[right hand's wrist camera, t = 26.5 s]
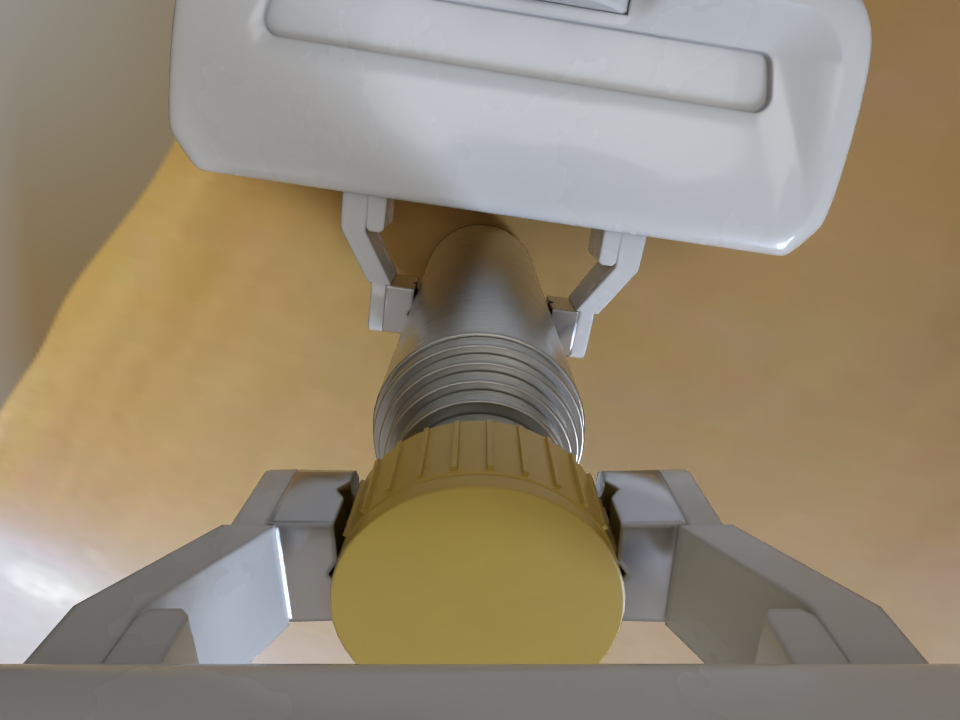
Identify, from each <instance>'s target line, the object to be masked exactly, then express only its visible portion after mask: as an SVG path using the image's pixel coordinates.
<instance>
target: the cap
mask: <svg viewBox="0 0 960 720" xmlns="http://www.w3.org/2000/svg"><path fill="white" fill-rule="evenodd" d="M343 536H345V539H344V542H343V545H342V548H341V551H340V554H339V557H338V560H337V563H336V566H335V569H334V572H333V575H332V580H331V587H330V609H331V615H332V620H333V624H334V627H335V629H336V632H337V635H338V637H339V639H340V641H341V643H342V645H343V646H344V648H345V650H346V651H347V652H348V654H349V655H350V657H351V658H352V659H353V661H354V662H355V663H356V664H599V663H600V662H601V661H602V659H603V658H604V657H605V656H606V655H607V653H608V651H609V650H610V648H611V646H612V645H613V643H614V642H615V639H616V637H617V634H618V632H619V630H620V627H621V623H622V619H623V615H624V607H625V590H624V582H623V578H622V574H621V571H620V567H619V564H618V561H617V558H616V555H617V549H616V546H615V543H614V540H613V537H612V534H611V531H610V528H609V518H608V515H607V512H606V509H605V508H603V506H602V503H601V500H600V497H598V494H597V491H596V488H595V484H594V481H593V478H592V476H591V474H590V473H589V474H586V473H585V471H584V470H583V468H582V467H581V466H580V465H579V464H578V462H577V461H576V458H575V455H574V454H573V453H570V454H568V453H567V452H566V451H565V450H564V449H563V448H561V447H560V446H558V445H557V444H555V443H554V442H552V439H551V438H550V437H548V436H547V437H544V436H542V435H539V434H537V433H535V432H533V431H531V430H528V429H525V428H523V426H522V425H518V426H516V425H511V424H506V423H501V422H493V421H492V420H489V419H487V420H486V421H462V422H460V420H457V421H454V423H449V424H444V425H440V426H437V427H433V428H430V429H429V427H427V428H425V429H424V431H423V432H420V433H418V434H415V435H414V436H412V437H410V438H408V439H407V440H405V441H403V442H402V441H401V440H400V441H399V442H397V445H396V447H394V448H393V449H392V450H390V451H389V452H388V453H387V454H386V455H385V456H384V457H383V458H382V459H379V458H378V459H377V460H376V461H375V464H374V467H373V469H372V471H371V472H370V473H369V475H368V476H367V478H366V480H361V482H360V484H359V487H358V490H357V493H356V496H355V499H354V502H353V505H352V508H351V511H350V514H349V517H348V518H347V521H346V526H345V529H344V532H343Z"/></svg>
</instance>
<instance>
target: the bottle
mask: <svg viewBox="0 0 960 720" xmlns="http://www.w3.org/2000/svg"><path fill="white" fill-rule="evenodd" d="M487 419H489V420H492V421H493V422H501V423H506V424H511V425H516V426H518V425H522V426H523V428H525V429H528V430H531V431H533V432H535V433H537V434H539V435H542V436H544V437H547V436H548V437H550V438H551V439H552V442H554V443H555V444H557V445H558V446H560V447H561V448H563V449H564V450H565V451H566V452H567V453H568V454H570V453H573V454H574V455H575V458H576V461H577V462H578V464H579V463H580V460H581V456H582V453H583V446H584V432H585V416H584V411H583V405H582V402H581V399H580V396H579V393H578V390H577V387H576V384H575V382H574V379H573V376H572V373H571V370H570V368H569V365H568V362H567V359H566V356H565V354H564V351H563V348H562V345H561V342H560V339H559V337H558V334H557V331H556V328H555V325H554V323H553V320H552V317H551V314H550V311H549V309H548V306H547V303H546V300H545V297H544V294H543V292H542V289H541V286H540V283H539V280H538V278H537V275H536V272H535V269H534V266H533V264H532V261H531V258H530V256H529V254H528V252H527V250H526V249H525V247H524V246H523V245H522V244H521V243H520V241H519V240H518V239H516V238H515V237H514V236H513V235H511V234H510V233H508V232H506V231H504V230H502V229H500V228H497V227H493V226H488V225H472V226H467V227H464V228H461V229H458V230H456V231H454V232H452V233H451V234H449V235H448V236H446V237H445V238H444V239H443V240H442V241H441V242H440V243H439V244H438V245H437V247H436V248H435V249H434V251H433V253H432V255H431V257H430V259H429V262H428V264H427V267H426V270H425V272H424V275H423V278H422V280H421V283H420V286H419V288H418V291H417V294H416V296H415V299H414V302H413V304H412V307H411V309H410V312H409V315H408V317H407V320H406V323H405V325H404V328H403V331H402V333H401V336H400V339H399V341H398V344H397V347H396V349H395V352H394V355H393V357H392V360H391V363H390V365H389V368H388V371H387V373H386V376H385V379H384V381H383V384H382V387H381V389H380V392H379V395H378V397H377V401H376V405H375V408H374V416H373V436H374V448H375V454H376V458H377V459H378V458H379V459H382V458H383V457H384V456H385V455H386V454H387V453H388V452H389V451H390V450H392V449H393V448H394V447H396V445H397V442H399V441H400V440H401V441H402V442H403V441H405V440H407V439H408V438H410V437H412V436H414V435H415V434H418V433H420V432H423V431H424V429H425V428H427V427H429V429H430V428H433V427H437V426H440V425H444V424H449V423H454V421H457V420H460V422H462V421H486V420H487Z"/></svg>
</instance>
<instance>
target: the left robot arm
mask: <svg viewBox="0 0 960 720" xmlns="http://www.w3.org/2000/svg"><path fill="white" fill-rule="evenodd" d="M871 44H872V37H871V25H870V20H869V16H868V12H867V10H866V7H865V5H864V3H863V1H862V0H175V8H174V16H173V27H172V39H171V51H170V71H169V123H170V129H171V132H172V134H173V136H174V138H175V139H176V141H177V142H178V143H179V145H180V146H181V148H182V149H183V151H184V152H185V154H186V155H187V156H188V158H189V159H190V160H191V162H192V163H193V164H194V165H195V166H196V167H197V168H198V169H200V170H203V171H208V172H214V173H221V174H228V175H235V176H241V177H248V178H255V179H262V180H268V181H275V182H282V183H289V184H295V185H302V186H309V187H316V188H323V189H329V190H336V191H343V198H342V216H341V229H342V231H343V233H344V235H345V237H346V239H347V241H348V243H349V245H350V247H351V249H352V251H353V253H354V255H355V257H356V259H357V261H358V263H359V265H360V267H361V269H362V271H363V274H364V276H365V278H366V280H367V282H371V294H370V307H369V320H368V326H369V329H370V330H375V331H380V332H383V331H385V332H393V333H402V331H403V328H404V325H405V323H406V320H407V317H408V315H409V312H410V309H411V307H412V304H413V302H414V299H415V296H416V294H417V291H418V285H419V278H418V277H412V276H406V275H400V274H397V271H396V269H395V266H394V264H393V262H392V259H391V257H390V255H389V252H388V250H387V248H386V245H385V243H384V241H383V238H382V236H381V234H380V232H382V231H383V230H384V229H385V228H386V227H387V226H388V225H389V224H390V223H391V222H392V221H393V213H394V203H395V199H397V200H404V201H411V202H417V203H424V204H431V205H438V206H444V207H451V208H458V209H465V210H472V211H478V212H485V213H492V214H499V215H505V216H512V217H519V218H526V219H533V220H539V221H546V222H553V223H560V224H566V225H573V226H580V227H587V228H592V230H591V235H590V240H589V245H588V251H589V252H590V254H591V255H592V256H593V257H594V258H595V259H596V260H597V261H598V262H597V263H596V265H595V266H594V267H593V268H592V269H591V271H590V272H589V273H588V274H587V275H586V277H585V278H584V279H583V280H582V281H581V283H580V284H579V285H578V286H577V287H576V289H575V290H574V291H573V292H572V293H571V295H570V296H569V298H562V297H554V296H547V298H546V303H547V306H548V309H549V311H550V314H551V317H552V320H553V323H554V325H555V328H556V331H557V334H558V337H559V339H560V342H561V345H562V348H563V351H564V354H565V356H566V357H574V358H581V359H582V358H583V357H584V355H585V352H586V349H587V344H588V340H589V335H590V331H591V326H592V322H593V317H594V314H599V312H600V311H601V310H602V309H603V308H604V307H605V306H606V305H607V304H608V303H609V302H610V301H611V300H612V299H613V297H614V296H615V295H616V294H617V293H618V292H619V291H620V290H621V289H622V288H623V287H624V286H625V285H626V284H627V283H628V281H629V280H630V279H631V278H632V277H633V276H634V275H635V274H636V273H637V272H638V270H639V266H640V262H641V258H642V254H643V250H644V246H645V242H646V238H647V236H648V237H654V238H661V239H668V240H675V241H682V242H688V243H695V244H702V245H709V246H715V247H722V248H729V249H736V250H742V251H749V252H756V253H763V254H770V255H777V256H783V255H787V254H789V253H790V252H792V251H793V250H794V249H796V248H797V247H798V246H800V245H801V244H802V243H803V242H804V241H806V240H807V239H808V238H809V237H810V236H811V235H813V234H814V233H815V232H816V231H817V230H818V229H819V228H820V227H821V225H822V224H823V222H824V220H825V218H826V216H827V214H828V211H829V209H830V206H831V204H832V201H833V198H834V196H835V193H836V190H837V187H838V184H839V180H840V177H841V174H842V171H843V168H844V165H845V162H846V158H847V155H848V152H849V148H850V145H851V141H852V138H853V134H854V130H855V126H856V122H857V119H858V115H859V111H860V107H861V102H862V98H863V94H864V90H865V85H866V80H867V76H868V71H869V64H870V58H871Z"/></svg>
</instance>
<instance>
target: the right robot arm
mask: <svg viewBox="0 0 960 720" xmlns="http://www.w3.org/2000/svg"><path fill="white" fill-rule="evenodd" d="M358 487H359V476H358V474H357V472H356V471H340V470H297V469H284V470H269V471H266V472H265V473H264V475H263V476H262V478H261V479H260V481H259V482H258V484H257V486H256V487H255V489H254V490H253V492H252V493H251V495H250V496H249V498H248V499H247V501H246V502H245V504H244V506H243V507H242V509H241V510H240V512H239V513H238V515H237V516H236V518H235V519H234V521H233V523H232V524H231V525H221V526H219V527H217V528H216V529H214V530H212V531H210V532H208V533H206V534H205V535H203V536H201V537H199V538H197V539H195V540H194V541H192V542H190V543H188V544H186V545H184V546H183V547H181V548H179V549H177V550H175V551H173V552H172V553H170V554H168V555H166V556H164V557H162V558H161V559H159V560H157V561H155V562H153V563H151V564H150V565H148V566H146V567H144V568H142V569H140V570H139V571H137V572H135V573H133V574H131V575H129V576H128V577H126V578H124V579H122V580H120V581H118V582H117V583H115V584H113V585H111V586H109V587H107V588H106V589H104V590H102V591H100V592H98V593H96V594H95V595H93V596H91V597H89V598H87V599H85V600H84V601H82V602H80V603H78V604H76V605H74V606H73V607H72V608H71V609H70V611H69V612H68V613H67V614H66V615H65V616H64V617H63V619H62V620H61V621H60V622H59V623H58V624H57V626H56V627H55V628H54V629H53V630H52V631H51V632H50V634H49V635H48V636H47V637H46V638H45V639H44V640H43V642H42V643H41V644H40V645H39V646H38V647H37V648H36V650H35V651H34V652H33V653H32V654H31V655H30V657H29V658H28V659H27V660H26V661H25V662H24V663H23V664H0V720H960V664H929V663H928V662H927V661H926V660H925V658H924V657H923V656H922V655H921V654H920V652H919V651H918V650H917V649H916V648H915V647H914V645H913V644H912V643H911V642H910V641H909V640H908V638H907V637H906V636H905V635H904V634H903V632H902V631H901V630H900V629H899V628H898V627H897V625H896V624H895V623H894V622H893V621H892V620H891V618H890V617H889V616H888V615H887V614H886V612H885V611H884V610H883V609H882V608H881V607H880V606H878V605H876V604H875V603H873V602H871V601H869V600H867V599H865V598H864V597H862V596H860V595H858V594H856V593H855V592H853V591H851V590H849V589H847V588H846V587H844V586H842V585H840V584H838V583H837V582H835V581H833V580H831V579H829V578H827V577H826V576H824V575H822V574H820V573H818V572H817V571H815V570H813V569H811V568H809V567H808V566H806V565H804V564H802V563H800V562H799V561H797V560H795V559H793V558H791V557H789V556H788V555H786V554H784V553H782V552H780V551H779V550H777V549H775V548H773V547H771V546H770V545H768V544H766V543H764V542H762V541H761V540H759V539H757V538H755V537H753V536H752V535H750V534H748V533H746V532H744V531H742V530H741V529H739V528H737V527H735V526H733V525H723V523H722V522H721V520H720V519H719V517H718V516H717V514H716V512H715V511H714V509H713V508H712V506H711V505H710V503H709V502H708V500H707V498H706V497H705V495H704V494H703V492H702V491H701V489H700V488H699V486H698V484H697V483H696V481H695V480H694V478H693V477H692V475H691V474H690V472H689V471H687V470H685V469H673V470H643V471H602V472H598V475H597V479H596V487H595V488H596V491H597V494H598V497H600V500H601V503H602V506H603V508H605V509H606V512H607V515H608V518H609V528H610V531H611V534H612V537H613V540H614V543H615V546H616V549H617V555H616V558H617V561H618V564H619V567H620V571H621V574H622V578H623V582H624V590H625V607H624V615H623V619H622V621H654V622H665V625H666V626H667V627H668V628H669V629H670V630H671V631H672V632H673V633H674V634H675V635H676V636H678V637H679V638H680V639H681V640H682V641H683V642H684V643H685V644H686V645H687V646H688V647H689V648H690V649H691V650H692V651H693V652H694V653H695V654H696V655H697V656H698V657H699V658H700V659H701V660H702V661H703V662H704V663H705V664H250V663H251V662H252V661H253V660H254V659H255V658H256V657H257V656H258V655H259V654H260V653H261V652H262V651H263V650H264V649H265V648H266V647H267V646H268V645H269V644H270V643H271V642H272V641H273V640H274V639H275V638H277V637H278V636H279V635H280V634H281V633H282V632H283V631H284V630H285V629H286V628H287V627H288V626H289V625H290V623H289V622H300V621H333V620H332V615H331V609H330V587H331V580H332V575H333V572H334V569H335V566H336V563H337V560H338V557H339V554H340V551H341V548H342V545H343V542H344V539H345V536H343V532H344V529H345V526H346V521H347V518H348V517H349V514H350V511H351V508H352V505H353V502H354V499H355V496H356V493H357V490H358Z"/></svg>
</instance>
